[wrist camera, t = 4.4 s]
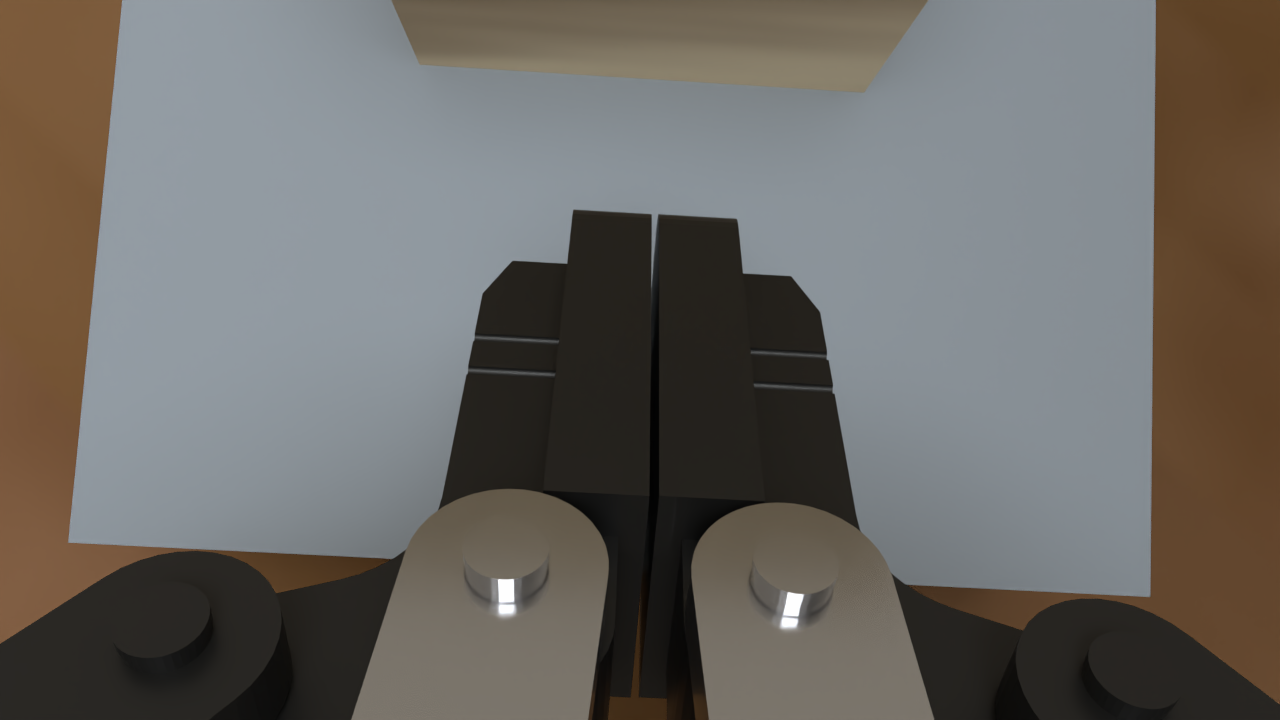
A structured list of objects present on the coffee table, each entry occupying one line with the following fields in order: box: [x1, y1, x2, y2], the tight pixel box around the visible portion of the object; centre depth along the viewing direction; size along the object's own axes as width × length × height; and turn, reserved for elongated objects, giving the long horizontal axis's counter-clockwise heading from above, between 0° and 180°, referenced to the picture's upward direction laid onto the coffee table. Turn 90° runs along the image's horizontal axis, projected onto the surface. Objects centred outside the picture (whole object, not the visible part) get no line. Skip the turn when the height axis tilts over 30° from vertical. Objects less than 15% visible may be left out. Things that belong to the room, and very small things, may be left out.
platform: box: [68, 0, 1156, 597], centre depth 19 cm, size 14×14×6 cm
